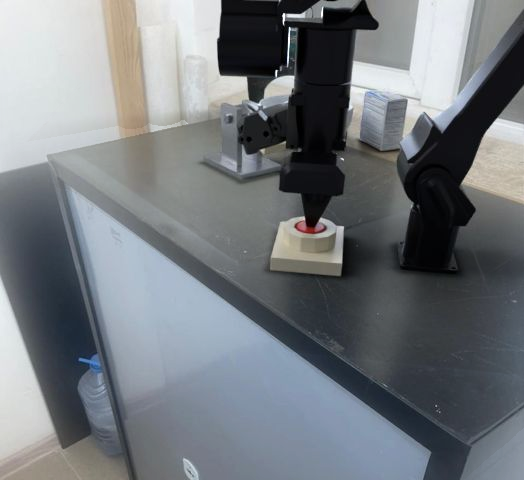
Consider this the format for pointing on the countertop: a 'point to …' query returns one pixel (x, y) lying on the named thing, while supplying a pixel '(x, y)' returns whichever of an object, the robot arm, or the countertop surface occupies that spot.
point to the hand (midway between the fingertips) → (311, 226)
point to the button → (310, 228)
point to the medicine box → (383, 119)
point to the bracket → (238, 147)
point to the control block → (308, 249)
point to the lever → (270, 149)
